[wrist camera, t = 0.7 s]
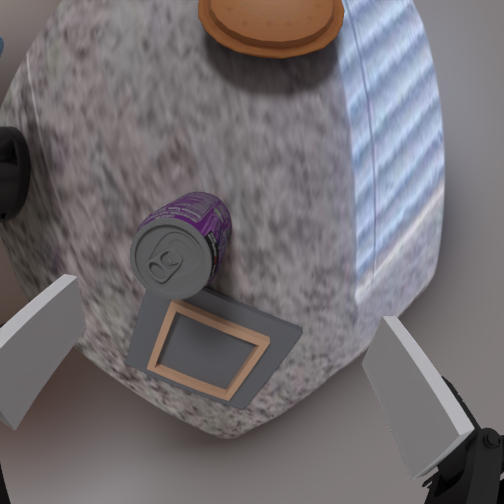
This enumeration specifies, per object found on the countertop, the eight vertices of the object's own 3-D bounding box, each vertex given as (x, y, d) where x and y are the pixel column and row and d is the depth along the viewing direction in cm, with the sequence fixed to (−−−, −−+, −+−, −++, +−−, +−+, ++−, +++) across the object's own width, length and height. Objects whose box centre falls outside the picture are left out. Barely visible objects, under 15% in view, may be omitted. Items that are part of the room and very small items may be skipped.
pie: (300, -34, 19) (305, -55, 14) (357, 52, 23) (373, 37, 18) (185, -3, 21) (176, -23, 16) (233, 88, 25) (228, 74, 20)
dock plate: (127, 359, 37) (122, 368, 35) (156, 264, 32) (150, 271, 30) (243, 405, 40) (243, 415, 38) (301, 327, 34) (304, 337, 32)
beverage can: (197, 264, 32) (168, 320, 20) (158, 217, 30) (107, 252, 18) (245, 228, 30) (239, 271, 19) (204, 177, 28) (172, 189, 17)
